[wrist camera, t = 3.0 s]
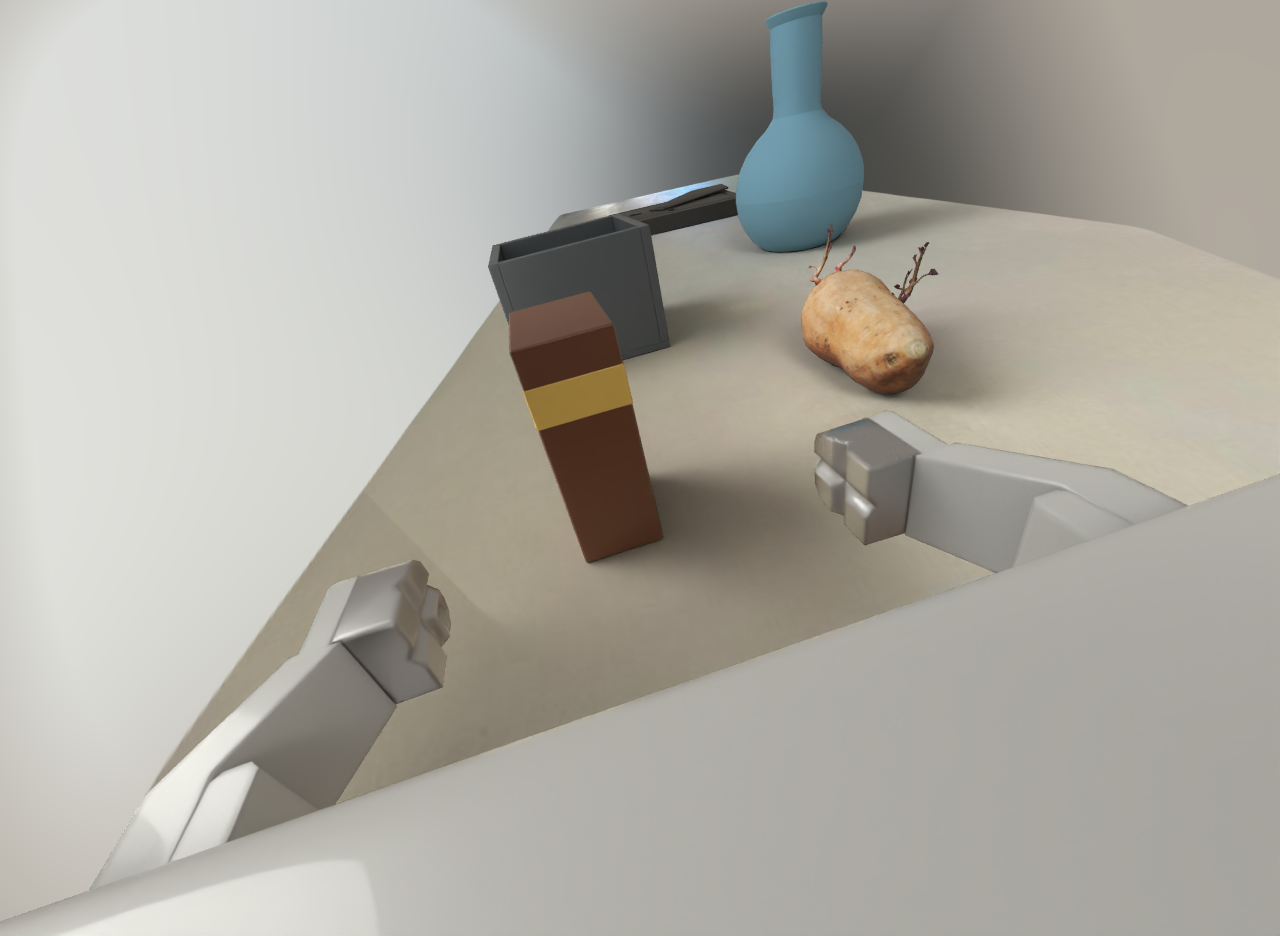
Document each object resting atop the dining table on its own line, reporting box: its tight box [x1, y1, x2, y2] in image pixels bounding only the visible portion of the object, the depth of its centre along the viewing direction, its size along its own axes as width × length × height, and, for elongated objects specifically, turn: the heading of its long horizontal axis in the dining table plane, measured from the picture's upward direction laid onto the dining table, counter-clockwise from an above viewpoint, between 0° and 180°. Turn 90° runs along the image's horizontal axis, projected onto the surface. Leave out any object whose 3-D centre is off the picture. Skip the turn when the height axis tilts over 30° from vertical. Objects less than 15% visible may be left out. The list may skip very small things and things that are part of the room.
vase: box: [736, 1, 864, 252], centre depth 62 cm, size 17×16×25 cm
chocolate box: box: [509, 292, 663, 562], centre depth 23 cm, size 4×6×11 cm
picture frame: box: [609, 184, 738, 235], centre depth 109 cm, size 23×4×28 cm
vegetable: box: [801, 223, 938, 394], centre depth 32 cm, size 16×11×10 cm
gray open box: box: [488, 214, 670, 360], centre depth 48 cm, size 14×14×11 cm
